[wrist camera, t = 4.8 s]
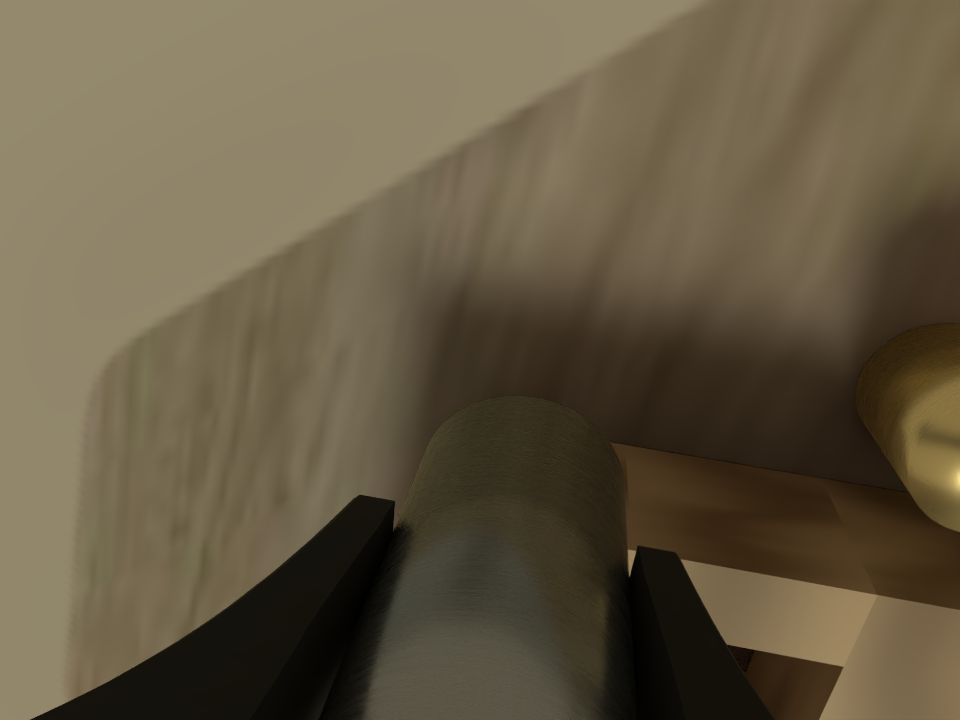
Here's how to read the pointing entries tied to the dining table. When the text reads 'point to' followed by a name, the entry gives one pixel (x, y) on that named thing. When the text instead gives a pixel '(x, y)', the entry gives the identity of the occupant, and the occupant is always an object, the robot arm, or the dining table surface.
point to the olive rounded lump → (918, 414)
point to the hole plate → (810, 583)
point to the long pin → (500, 579)
